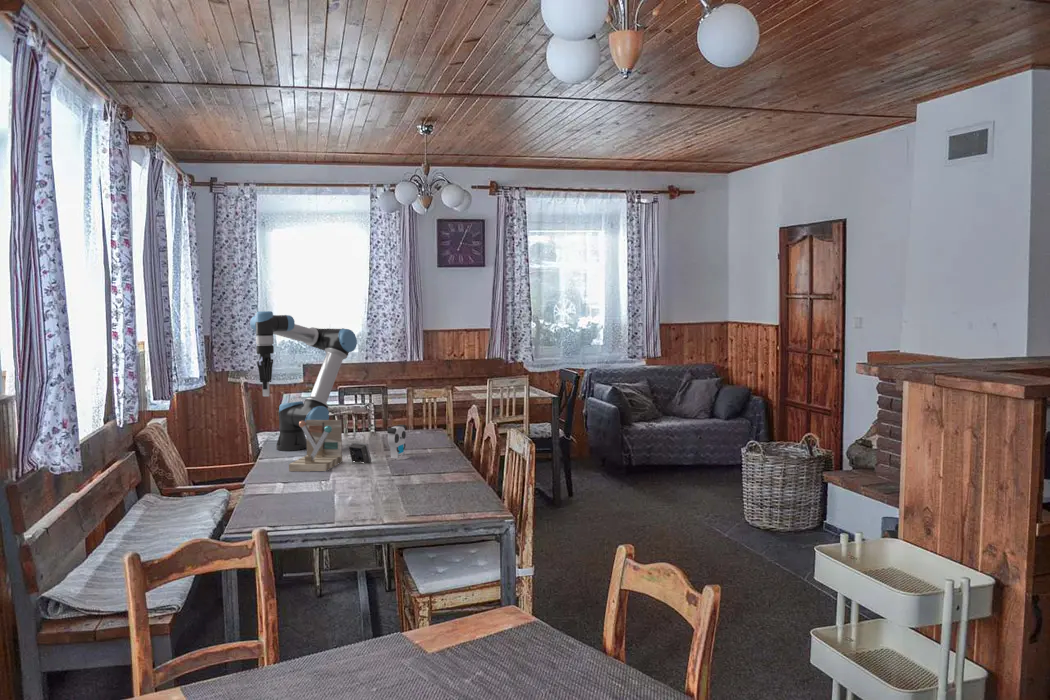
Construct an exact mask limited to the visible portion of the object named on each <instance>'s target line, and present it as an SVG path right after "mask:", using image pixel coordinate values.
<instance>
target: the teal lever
mask: <svg viewBox="0 0 1050 700" xmlns="http://www.w3.org/2000/svg"><path fill="white" fill-rule="evenodd" d="M324 430H325V431H324V432H323V434H322V436H321V438H320V439H319V441H318V443H317V445H316V447H315V448H314V450H313V452H312V454H311V456H310V457H311V461H314V459H315V457H316V455H317V454H318V452H319V450H320V448H321V446H322V445H323V443H324V441H325V439H326V438H327V436H328V434H329V433H330V432H331V431H332V427H331V426H326V427H325V428H324Z"/></svg>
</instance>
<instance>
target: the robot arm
mask: <svg viewBox="0 0 1050 700" xmlns="http://www.w3.org/2000/svg"><path fill="white" fill-rule="evenodd" d="M249 324H250V328H251V329H252V330H253V331H255V335H256V336H255V342H256V346H255V347H256V351H255V352H256V354H258V355H259V360H257V361H256V364H257V367H258V377H259V382H260V383H262V397H271V394H270V393H271V392H270V383H271V382H272V376H273V364H274V359H273V358H272V355H273V354H274V353H275V352H274V347H275V345H274V343H275V342H274V335H276V336H279V337H283V338H287V339H291V340H295V341H297V342H302V343H305V344H306V346H309V347H312V348H316V349H318V350H322V351H324V352H325V356H324V359H323V361H322V364H321V366H320V370H319V372H318V375H317V377H316V380H315V382H314V384H313V387H312V390H311V393H310V395H309V397H306V398H305V399H304V402H303V401H294V402H293V401H291V402H284V403H281V404H280V405H279V406H278V408H279V410H278V419H279V420H278V421H279V424H278V425H279V434H278V439H277V441H276V445H275V447H276V450H277V451H285V452H286V451H287V452H288V451H290V450H294V451H301V450H300V449H302V450H305V449H304V448H306V449H307V437H306V435H305V433H304V431H303V430H302V428H301V427H300V426H299V422H300V421H305V422H306V420H330V411H329V409H328V408H329V406H328V404H327V403H328V399H329V397H330V394H331V391H332V390H333V386H334V384H335V382H336V379H337V377H338V374H339V371H340V368H341V366H342V362H343V361H344V360H346V359H347V358H348V355H349V353H352V352H354V351H355V350H356V348H357V344H358V339H357V336H356V334H355V333H354V331H353V330H351V329H348V328H345V327H344V328H342V327H341V328H319V327H307V326H306V327H305V326H303V325H299V324H296V323H295V319H294V317H293V316H292V315H289V314H288V315H287V314H284V315H283V314H281V315H280V314H279V315H278V314H277V315H276V314H275V315H274V313H273V311H272V310H271V311H270V310H269V311H268V310H267V311H266V310H265V311H263V310H262V311H261V310H260V311H257V312H256V313H255V315H254V316H252V317H251V319H250V321H249Z"/></svg>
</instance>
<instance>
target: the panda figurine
mask: <svg viewBox="0 0 1050 700" xmlns="http://www.w3.org/2000/svg"><path fill="white" fill-rule="evenodd" d="M406 428H407V427H406V424H397V425H396V426H395V425H394V426H391V427H388V428H387V431H386V432H387V444H388V447H389V450H390V451H389V452H390V456H391V458H399V455H401V456H402V455H404V456H405V449H406V443H405V442H406V439H407V438H406V437H407V433H406Z"/></svg>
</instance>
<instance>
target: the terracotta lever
mask: <svg viewBox="0 0 1050 700" xmlns="http://www.w3.org/2000/svg"><path fill="white" fill-rule="evenodd" d="M299 426H300V427H301V428H302V430H303V431H304V434H305V437H306V436H307V437H306V439H307V438H308V440H309V442H310V443H311V445H312V447H313V449H314V448H315V447H316V445H317V443H316V441H315V439H314V437H313V436H312V434H311V432H310V431H309V429H308V427H307V425H306V422H305V421H300V422H299ZM319 451H321V449H320V450H319Z"/></svg>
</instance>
